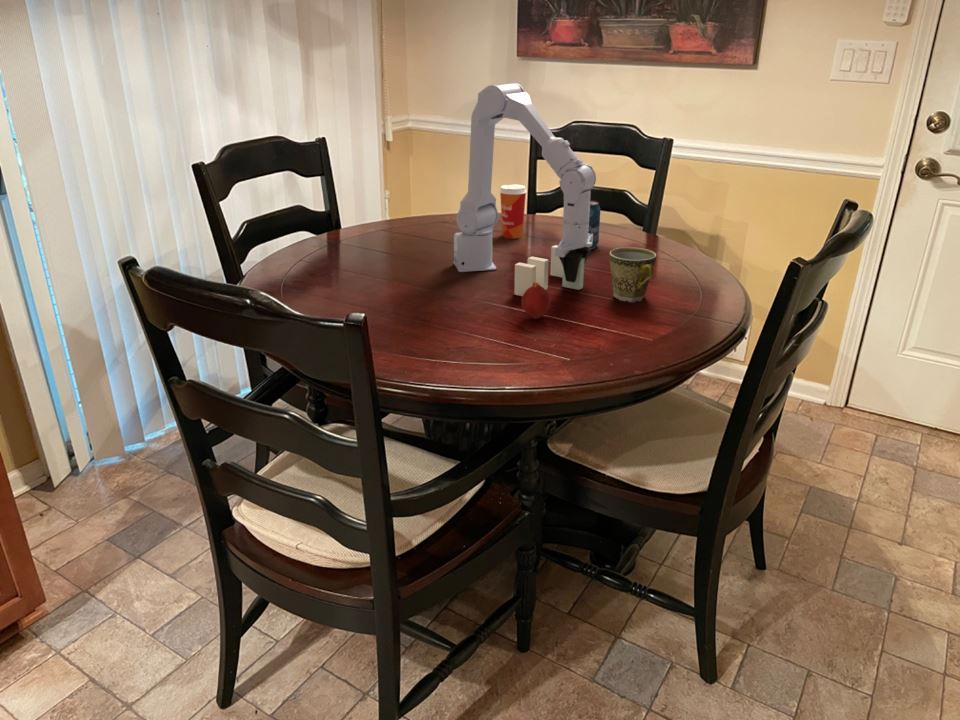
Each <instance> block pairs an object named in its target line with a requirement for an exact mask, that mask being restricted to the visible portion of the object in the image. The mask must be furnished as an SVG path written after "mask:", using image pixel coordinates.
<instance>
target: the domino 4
mask: <svg viewBox="0 0 960 720" xmlns="http://www.w3.org/2000/svg"><path fill="white" fill-rule="evenodd" d="M584 261H585V258H581V260H580V263H579V266H578V271H577V277H576V280H575V282H569V281H566V278H565V273H564V269H563V278H562V285H561V287H563V288H569V289H574V290H577V291H579V290H581V289H583V287H584V278H585V277H584V276H585V264H584Z"/></svg>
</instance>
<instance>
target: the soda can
mask: <svg viewBox="0 0 960 720" xmlns="http://www.w3.org/2000/svg"><path fill="white" fill-rule="evenodd" d="M600 222H601V207H600V204H599V202H598V200H597V201H596V200H592V199H590V212H589V229H588V234H593V242H592V246H590V247H589V248H591V250H592V249H595V248H596V247H597V246H598V244H599V241H600V239H599V237H600V227H601V226H600V225H601V224H600Z"/></svg>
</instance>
